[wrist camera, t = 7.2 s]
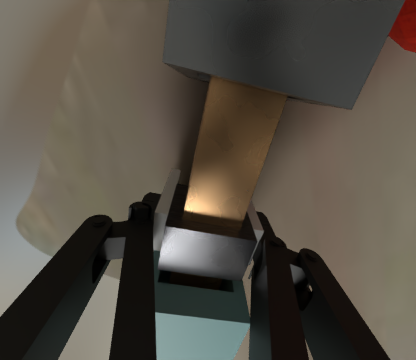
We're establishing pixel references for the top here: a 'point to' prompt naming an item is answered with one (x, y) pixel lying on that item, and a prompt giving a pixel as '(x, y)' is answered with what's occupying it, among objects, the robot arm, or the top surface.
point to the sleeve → (281, 44)
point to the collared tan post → (220, 187)
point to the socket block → (198, 319)
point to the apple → (405, 26)
